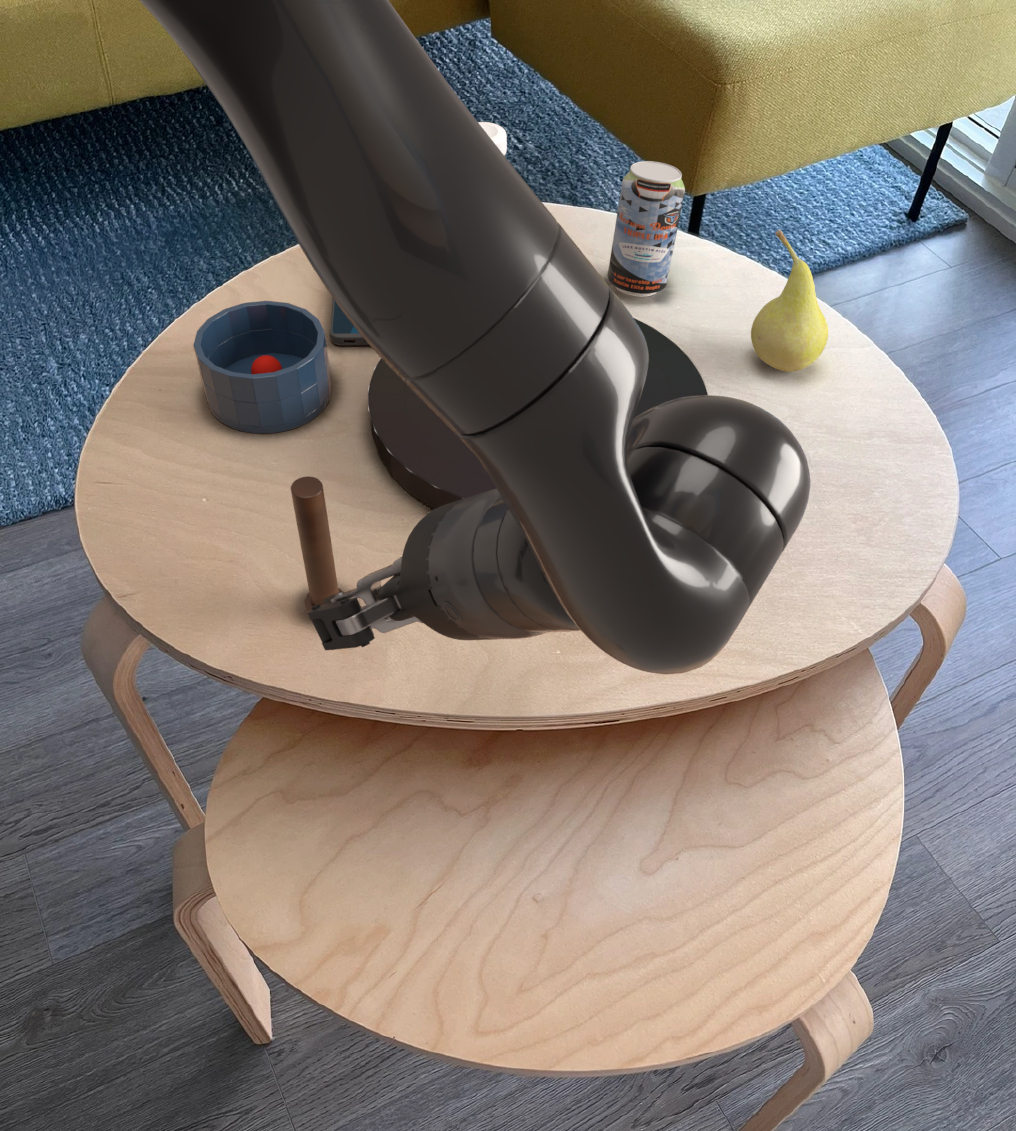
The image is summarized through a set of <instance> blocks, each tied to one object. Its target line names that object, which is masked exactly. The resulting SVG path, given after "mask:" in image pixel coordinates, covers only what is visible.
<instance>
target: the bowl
mask: <svg viewBox="0 0 1016 1131" xmlns="http://www.w3.org/2000/svg"><path fill="white" fill-rule="evenodd" d="M326 338H327V337H326V332H325V329H324V328H323V325H322V323H321V321H320V319H319V318H318V317H317V316H316V315H314V314H313V313H312V312H310V311H309V310H308V309H306V308H303V307H301V306H298V305H295V304H291V303H290V302H282V301H274V300H260V301H249V302H242V303H239V304H236V305H233V306H230V307H226V308H224V309H222V310H220V311H219V312H217V313H215V314H214V315H212V316H210V317H209V318H207V319H206V320H205V321H204V322H203V323H202V324H201V326H200V327H199V328H198V329H197V331H196V333H195V336H194V341H193V350H194V354H195V358H196V362H197V366H198V371H199V374H200V379H201V383H202V387H203V392H204V396H205V398H206V402H207V405H208V409H209V410H210V412H211V414H212V415H213V416H214V417H215V419H216V420H218V421H219V422H221V423H222V424H223V425H225V426H227V427H228V428H231V429H233V430H236V431H239V432H244V433H250V434H263V435H264V434H276V433H277V434H278V433H283V432H287V431H291V430H293V429H296V428H297V429H298V428H299V427H302V426H304V425H307V423H309V422H311V421H312V420H314V419H315V418H317V417H318V416H319V415H320V414H321V413H322V412H323V411H324V410H325V409H326V407H327V406H328V404H329V402H330V400H331V395H332V384H331V382H332V379H331V377H332V376H331V370H330V362H329V355H328V348H327V347H328V346H327V339H326ZM264 355H269V356H272V357H274V358H276V359H277V360H278V361H279V362H280V364H281V366H282V370H279V371H276V372H271V373H261V374H251V367H252V364H253V362H254V361H255V360H256V359H257V358H258V357H260V356H264Z"/></svg>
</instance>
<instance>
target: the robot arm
mask: <svg viewBox="0 0 1016 1131" xmlns="http://www.w3.org/2000/svg"><path fill="white" fill-rule="evenodd" d="M139 2H140V3H141V4H142V5H143V6H144V7H145V8H146V10H148V12H149V13H150V14H151V15H152V16H153V18H155V20H156V21H157V22H158V23H159V24H160V25H161V27H162V28H163V29H164V30H165V31H166V32H167V35H169V36H170V38H171V39H172V40H173V41H174V42H175V44H176V45H177V46H178V48H179V49H180V50H181V52H183V54H184V55H185V56H186V58H187V59H188V60H189V62H190V63H191V64H192V66H193V68H195V71H196V72H197V73H198V74H199V76H200V78H201V79H202V80H203V82H204V83H205V85H206V86H207V87H208V89H209V91H210V92H211V93H212V95H213V97H214V98H215V100H216V101H217V103H218V104H219V105H220V107H221V108H222V110H223V112H224V113H225V115H226V117H227V118H228V120H229V122H230V123H231V125H232V126H233V128H234V129H235V131H236V133H237V135H238V136H239V137H240V139H241V141H242V143H243V144H244V146H245V148H246V150H247V151H248V153H249V154H250V157H251V158H252V161H253V162H254V164H255V166H256V167H257V170H258V171H259V173H260V175H261V177H262V179H263V180H264V183H265V184H266V186H267V189H268V190H269V193H270V194H271V196H272V198H273V199H274V202H275V204H276V205H277V207H278V209H279V210H280V212H281V214H282V216H283V218H284V220H285V222H286V223H287V225H288V227H289V229H290V231H291V233H292V235H293V236H294V238H295V240H296V242H297V244H298V246H299V248H301V250H302V252H303V254H304V255H305V257H306V259H307V260H308V262H309V264H310V265H311V268H313V270H314V271H315V272H314V273H316V275H317V276H318V278H319V279H320V281H321V283H322V284H323V286H324V287H325V289H326V290H327V291H328V293H329V294H330V296H331V297H332V298H334V300H335V301H336V303H337V304H338V306H339V307H340V309H341V310H342V311H343V313H344V314H345V315H346V317H347V318H348V319H349V320H350V322H351V323H352V324H353V326H354V327H355V328H356V329H357V331H358V332H359V333H360V335H361V336H362V337H363V338H364V339H365V340H366V341H367V343H368V344H369V345H368V346H370V347H371V348H372V349H373V351H374V352H375V353H376V354H377V356H378V357H380V359H381V358H382V359H383V360H384V361H385V363H386V364H387V365H388V366H389V367H390V368H391V369H392V370H393V371H394V372H395V373H396V374H397V375H398V376H399V377H400V378H401V379H402V380H403V381H404V382H405V383H406V384H407V385H408V386H409V387H410V388H411V389H412V390H413V391H414V392H415V393H416V394H417V395H418V396H419V397H420V399H421V400H422V401H423V402H424V403H425V404H426V405H427V406H428V407H429V408H430V409H431V410H432V411H433V412H434V413H435V414H436V415H437V416H438V417H439V418H440V419H441V420H442V421H443V422H444V423H445V424H446V425H447V426H448V427H449V428H450V429H451V430H452V431H453V432H454V433H455V434H456V435H457V436H458V437H459V438H460V439H461V440H462V441H463V442H464V443H465V444H466V445H467V446H468V448H469V449H470V450H471V451H472V452H473V453H474V454H475V455H476V456H477V458H478V459H479V461H480V462H481V464H482V465H483V467H484V468H485V470H486V471H487V473H488V474H489V476H490V478H491V480H492V481H493V483H494V485H495V487H496V488H497V489H493V490H489V491H486V492H483V493H480V494H477V495H474V496H471V497H468V498H464V499H461V500H458V501H455V502H452V503H449V504H446V505H443V506H440V507H438V508H436V509H433V510H430V512H428V513H427V514H425V515H424V516H423V517H422V518H421V519H420V520H419V521H418V522H417V523H416V525H415V526H414V527H413V528H412V530H411V532H410V533H409V535H408V538H407V539H406V542H405V544H404V546H403V551H402V556H400V557H398V558H397V559H396V560H394V561H393V563H392V564H389V565H387V566H385V567H382V568H379V569H377V570H374V571H372V572H370V573H368V574H366V575H365V576H364V577H361V578H359V579H358V580H357V583H356V587H355V588H353V589H350V590H347V591H345V592H344V591H343V590H342V592H340V593H338V594H333V595H331V596H329V597H327V598H325V599H323V603H324V604H323V605H321V606H320V605H319V604H318V605H316V606H313V607H312V608H311V609H312V610H310V611H309V612H307V613H306V614H307V617H308V618H309V620H310V621H311V623H312V625H313V627H314V629H315V631H316V633H317V635H318V637H319V639H320V641H321V645H322V647H323V649H324V651H334V650H335V651H336V650H345V649H346V650H347V649H355V648H360V647H361V648H365V647H366V646H368V645H371V642H372V641H373V640H375V633H374V631H373V629H375V630H377V631H378V632H379V633H381V634H386V633H390V632H392V631H394V630H395V631H396V630H398V629H400V628H403V627H406V626H408V625H411V624H415V623H421V624H423V625H425V626H427V627H428V628H429V629H431V630H432V631H434V632H435V633H437V634H439V635H441V636H444V637H446V638H448V639H453V640H456V641H457V640H458V641H491V640H492V641H493V640H494V641H495V640H519V639H527V638H534V637H538V636H542V635H544V634H547V633H565V632H566V633H567V632H568V633H569V632H581V633H583V635H584V636H585V637H586V638H587V639H588V640H589V641H590V642H591V643H593V644H594V645H595V646H596V647H597V648H599V649H600V650H601V651H602V652H604V653H605V654H607V655H608V656H609V657H611V658H612V659H614V660H616V661H618V662H619V663H621V664H623V665H626V666H627V667H629V668H633V669H635V670H638V671H642V672H646V673H651V674H658V675H675V674H676V675H677V674H685V673H688V672H689V673H690V672H692V671H694V670H697V669H700V668H702V667H703V666H705V665H707V664H708V663H710V662H711V661H712V660H714V658H716V657H717V656H718V655H719V653H720V652H721V651H722V650H723V649H724V648H725V647H726V646H727V644H728V643H729V641H730V640H731V638H732V637H733V635H734V634H735V632H736V631H737V629H738V627H739V625H740V624H741V622H742V620H743V619H744V617H745V616H746V614H747V612H748V610H749V609H750V607H751V605H752V604H753V602H754V600H755V599H756V597H757V595H758V594H759V592H760V590H761V589H762V587H763V586H764V584H765V582H766V581H767V579H768V577H769V575H770V574H771V572H772V571H773V569H774V567H775V565H776V564H777V562H778V560H779V559H780V558H781V556H782V554H783V552H784V551H785V549H786V548H787V546H788V544H789V543H790V541H791V540H792V538H793V536H794V535H795V533H796V531H797V530H798V528H799V525H800V524H801V522H802V520H803V518H804V514H805V512H806V510H807V508H808V503H809V498H810V492H811V473H810V468H809V463H808V458H807V456H806V454H805V451H804V449H803V447H802V445H801V443H800V442H799V440H798V439H797V437H796V436H795V434H794V433H793V431H791V430H790V428H788V426H787V425H786V424H784V423H783V421H781V420H780V419H779V418H777V417H776V416H775V415H774V414H772V413H770V411H767V410H766V409H764V408H762V407H760V406H758V405H757V404H754V403H751V402H748V401H746V400H743V399H739V398H735V397H731V396H725V395H715V394H714V395H711V394H708V395H700V396H689V397H682V398H678V399H674V400H671V401H668V402H665V403H663V404H660V405H658V406H655V407H653V408H651V409H649V410H647V411H645V412H643V413H642V414H640V415H638V416H637V417H635V418H634V419H633V417H634V414H635V411H636V408H637V406H638V403H639V400H640V397H641V394H642V390H643V387H644V384H645V380H646V375H647V370H648V363H649V354H648V348H647V343H646V340H645V338H644V335H643V333H642V331H641V329H640V328H639V326H638V324H637V323H636V321H635V320H634V318H635V317H634V316H633V315H632V313H631V312H630V311H629V309H628V308H627V307H626V306H625V304H624V303H623V301H621V299H620V298H619V296H618V295H617V294H616V293H615V292H614V290H613V289H612V288H611V287H610V285H608V283H607V282H606V280H605V279H604V278H603V276H602V275H601V274H600V273H599V271H598V270H597V269H596V268H595V266H594V265H593V264H592V263H591V261H590V260H589V259H588V257H587V256H586V255H585V254H584V253H583V251H582V250H581V249H580V247H579V246H578V245H577V244H576V243H575V241H574V240H573V239H572V237H571V236H570V235H569V234H568V232H567V231H566V230H565V229H564V227H563V226H562V225H561V224H560V223H559V221H557V219H556V217H555V216H554V215H553V214H552V213H551V211H550V210H549V209H548V207H546V206H545V205H544V203H543V202H542V200H540V198H539V196H537V195H536V193H535V192H534V191H533V190H532V189H531V187H530V186H529V185H528V183H527V181H525V179H524V178H523V177H522V176H521V175H520V173H519V172H518V171H517V170H516V169H515V167H514V166H513V165H512V163H511V162H510V161H509V159H508V158H507V156H506V155H505V156H504V155H503V154H502V152H501V151H500V150H499V148H498V147H497V146H496V145H495V143H494V142H493V141H492V140H491V138H490V137H489V136H488V135H487V133H486V132H485V131H484V129H483V128H482V127H481V126H480V124H479V123H478V122H479V121H478V120H477V119H476V117H474V115H473V114H472V112H471V111H470V110H469V109H468V107H467V106H466V105H465V104H464V102H463V101H462V100H461V98H460V97H459V95H458V94H457V93H456V91H454V89H453V88H452V86H451V85H450V84H449V82H448V80H446V79H445V77H444V76H443V74H442V73H441V71H440V70H439V69H438V68H437V66H436V64H435V63H434V61H433V60H432V59H431V58H430V56H429V55H428V53H427V52H426V51H425V49H424V48H423V46H422V45H421V43H420V42H419V41H418V39H417V38H416V37H415V36H414V34H413V33H412V31H411V30H410V28H409V27H408V26H407V24H406V23H405V21H404V20H403V19H402V17H401V16H400V14H399V13H398V12H397V10H396V9H395V7H394V6H393V4H392V3H391V1H390V0H139ZM387 579H388V580H387ZM385 580H387V581H386V582H385V583H384V584H382V581H385ZM343 592H344V593H343ZM358 599H361V600H362V601H363V602H364V605H363V606H361V604H360V602H359V600H358Z"/></svg>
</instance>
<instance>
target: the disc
mask: <svg viewBox="0 0 1016 1131" xmlns="http://www.w3.org/2000/svg"><path fill="white" fill-rule="evenodd" d="M633 318H634V320H635V321H636V323H637V324H638V326H639V328H640V329H641V331H642V333H643V335H644V338H645V340H646V343H647V348H648V354H649V363H648V370H647V375H646V380H645V384H644V387H643V390H642V394H641V397H640V400H639V403H638V406H637V408H636V411H635V414H634V417H633V419H634V418H635V417H637V416H638V415H640V414H642V413H643V412H645V411H647V410H649V409H651V408H653V407H655V406H658V405H660V404H663V403H665V402H668V401H671V400H674V399H678V398H682V397H689V396H700V395H709V393H708V391H707V387H706V384H705V380H704V378H703V376H702V375H701V373H700V372H699V370H698V367H696V365H695V363H694V361H693V360H692V359H691V358H690V357H689V355H687V354H686V353H685V352H684V351H683V350H682V349H681V348H680V346H678V344H676V342H674V341H673V340H672V339H670V338H669V337H667V336H666V335H665V334H663V333H661V332H660V331H659V330H657V328H655V327H654V326H651V325H650V324H647V323H645V322H643V321H642V320H639V319H637V318H635V317H633ZM367 410H368V413H369V416H370V425H371V435H372V438H373V441H374V445H375V448H376V452H377V454H378V457H379V458H380V460H381V462H382V463H383V464H384V466H385V467H386V470H387V471H388V472H389V474H390V476H391V477H392V478H393V479H394V480H395V481H396V482H398V484H399V485H400V486H402V487H403V488H404V489H405V490H406V491H407V492H408V493H409V494H410V495H411V496H413V497H414V498H415V499H417V500H419V501H421V502H422V503H423V504H425V505H426V506H428V507H430V508H431V509H433V510H434V509H436V508H438V507H440V506H443V505H446V504H449V503H452V502H455V501H458V500H461V499H464V498H468V497H471V496H474V495H477V494H480V493H483V492H486V491H489V490H493V489H497V488H496V487H495V485H494V483H493V481H492V480H491V478H490V476H489V474H488V473H487V471H486V470H485V468H484V467H483V465H482V464H481V462H480V461H479V459H478V458H477V456H476V455H475V454H474V453H473V452H472V451H471V450H470V449H469V448H468V446H467V445H466V444H465V443H464V442H463V441H462V440H461V439H460V438H459V437H458V436H457V435H456V434H455V433H454V432H453V431H452V430H451V429H450V428H449V427H448V426H447V425H446V424H445V423H444V422H443V421H442V420H441V419H440V418H439V417H438V416H437V415H436V414H435V413H434V412H433V411H432V410H431V409H430V408H429V407H428V406H427V405H426V404H425V403H424V402H423V401H422V400H421V399H420V397H419V396H418V395H417V394H416V393H415V392H414V391H413V390H412V389H411V388H410V387H409V386H408V385H407V384H406V383H405V382H404V381H403V380H402V379H401V378H400V377H399V376H398V375H397V374H396V373H395V372H394V371H393V370H392V369H391V368H390V367H389V366H388V365H387V364H386V363H385V361H384V360H383V359H382V358H381V357H380V358H379V360H378V362H377V363H376V365H375V366H374V368H373V372H372V375H371V378H370V382H369V385H368V389H367Z"/></svg>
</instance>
